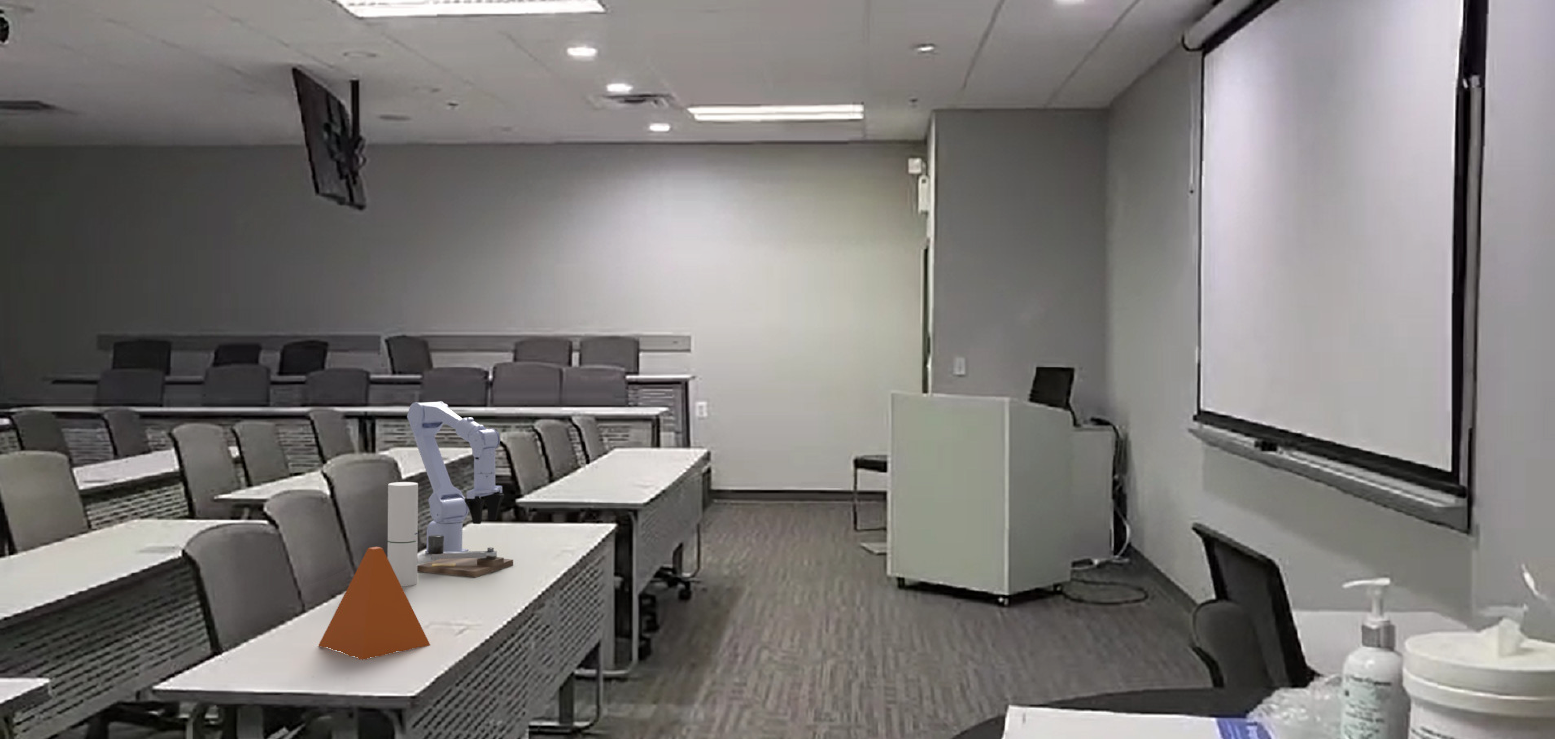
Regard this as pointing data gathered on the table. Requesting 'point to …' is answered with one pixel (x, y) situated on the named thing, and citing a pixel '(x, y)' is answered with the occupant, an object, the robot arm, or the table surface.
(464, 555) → the lever
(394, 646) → the pyramid
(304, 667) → the table surface
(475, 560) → the cracker board
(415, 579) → the cylindrical container
